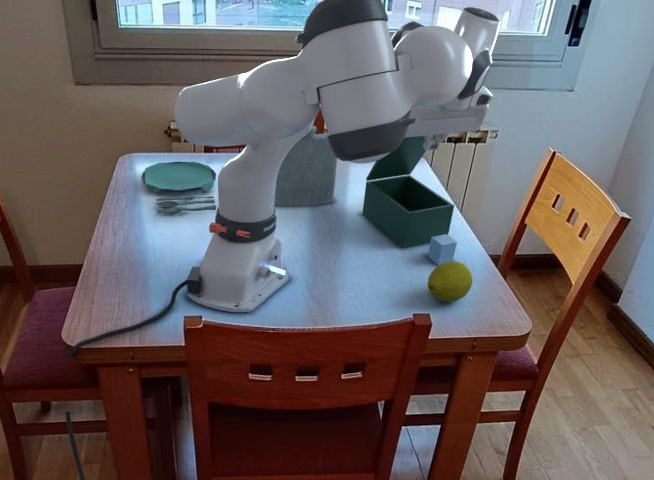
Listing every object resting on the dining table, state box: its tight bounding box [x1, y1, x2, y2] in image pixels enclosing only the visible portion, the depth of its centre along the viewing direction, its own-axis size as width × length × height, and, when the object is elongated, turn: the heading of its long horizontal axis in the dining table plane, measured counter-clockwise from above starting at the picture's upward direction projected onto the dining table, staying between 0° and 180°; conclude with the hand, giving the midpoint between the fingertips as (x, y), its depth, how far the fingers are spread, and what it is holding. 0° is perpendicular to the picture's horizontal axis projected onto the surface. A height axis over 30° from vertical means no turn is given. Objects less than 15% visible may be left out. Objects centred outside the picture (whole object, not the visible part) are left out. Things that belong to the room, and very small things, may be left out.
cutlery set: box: [140, 161, 217, 214], centre depth 162 cm, size 20×30×2 cm, turn 11°
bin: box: [362, 174, 455, 249], centre depth 149 cm, size 19×13×9 cm
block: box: [427, 234, 458, 266], centre depth 137 cm, size 4×4×5 cm
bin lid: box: [365, 135, 437, 181], centre depth 145 cm, size 19×13×6 cm
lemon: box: [427, 260, 473, 303], centre depth 123 cm, size 11×8×8 cm
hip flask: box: [274, 124, 338, 207], centre depth 154 cm, size 16×4×20 cm, turn 103°
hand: (429, 148), depth 136 cm, fingers closed
